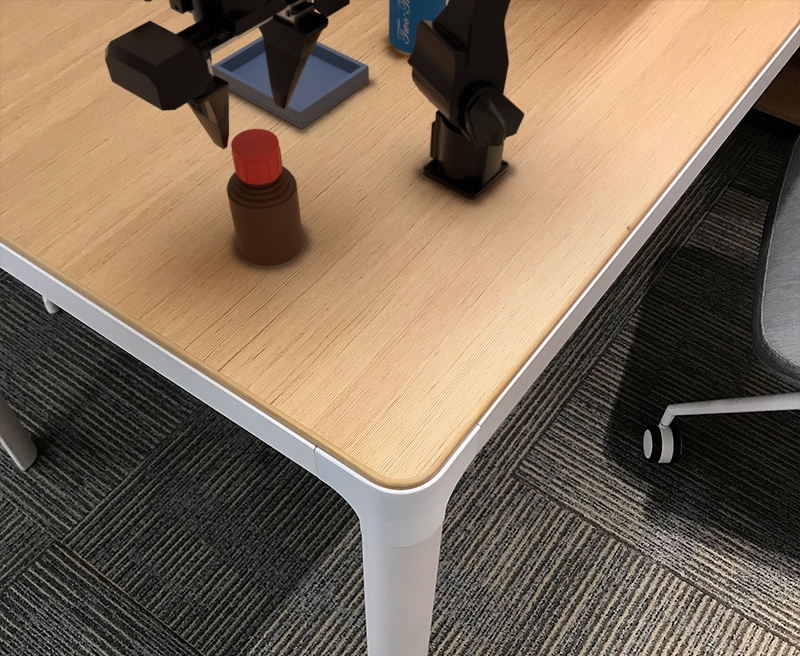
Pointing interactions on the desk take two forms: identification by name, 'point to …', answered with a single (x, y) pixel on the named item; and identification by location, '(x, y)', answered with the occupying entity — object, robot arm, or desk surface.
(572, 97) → the desk surface
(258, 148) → the cap
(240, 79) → the tray
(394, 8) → the beverage can
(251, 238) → the bottle
